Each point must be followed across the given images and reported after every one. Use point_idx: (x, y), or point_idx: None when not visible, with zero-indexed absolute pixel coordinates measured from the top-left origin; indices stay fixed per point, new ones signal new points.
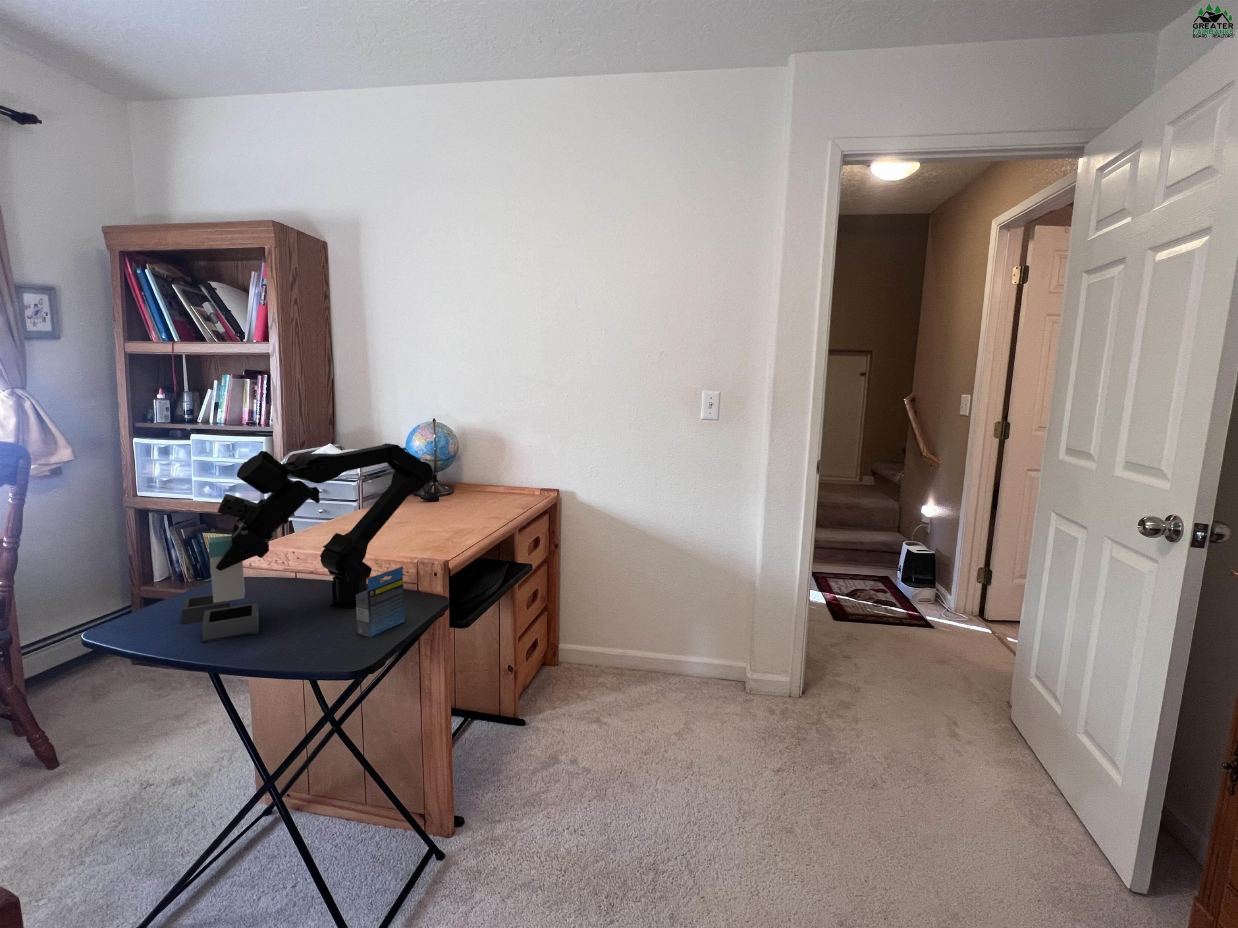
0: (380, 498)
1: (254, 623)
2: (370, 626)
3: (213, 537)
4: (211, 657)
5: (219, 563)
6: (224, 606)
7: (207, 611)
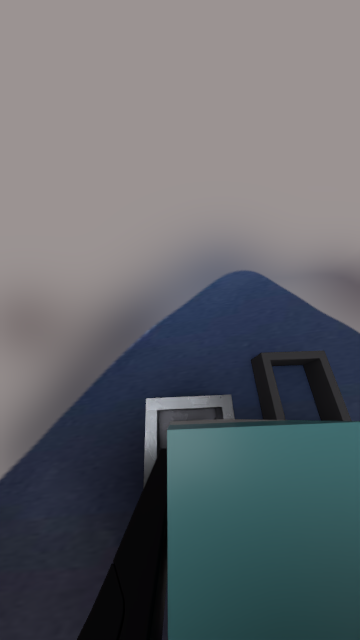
0: None
1: None
2: None
3: None
4: (76, 422)
5: (150, 475)
6: None
7: (224, 400)
